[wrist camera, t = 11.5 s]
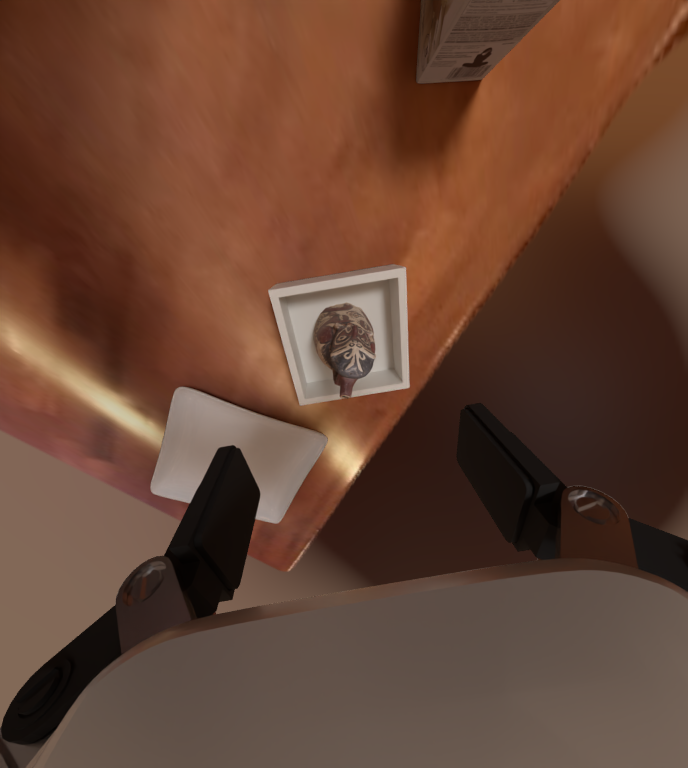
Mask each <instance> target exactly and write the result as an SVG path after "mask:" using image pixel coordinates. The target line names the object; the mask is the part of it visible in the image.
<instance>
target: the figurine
mask: <svg viewBox="0 0 688 768" xmlns="http://www.w3.org/2000/svg"><path fill="white" fill-rule="evenodd" d="M313 341H314V345H315V348H316V352H317V354H318V356H319V358H320V359H321V361H322V362H323V363H324V364H325V365H326V366H327V367H328V368H330V369H331V370H332V372H333V380H334V384H336V385H338V386H340V398H342V399H348V398H350V397H351V395H352V389H353V386H354V384H355V382H356V381H357V380H358V379H360V378H363V377H365V376H366V375H367V374H368V373H369V372H370V371H371V369H372V367H373V363H374V360H375V358H376V354H375V341H374V331H373V328H372V325H371V323H370V321H369V320H368V318H367V316H366V314H365V313H364V312H363V310H362V309H361V308H359V307H356V306H354V305H352V304H350V303H347V302H346V303H343V304H336V305H334V306H330V307H327V308H325V309H324V310H323V311H322V312H321V313H320V315H319V317H318V319H317V321H316V323H315V327H314V332H313Z"/></svg>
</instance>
